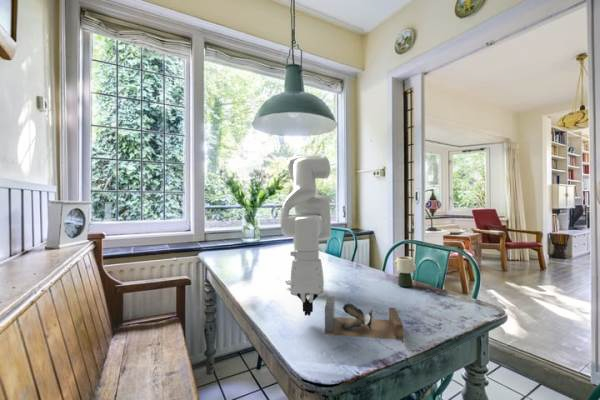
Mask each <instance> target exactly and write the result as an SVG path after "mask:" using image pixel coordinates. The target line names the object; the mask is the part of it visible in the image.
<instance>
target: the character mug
mask: <svg viewBox="0 0 600 400" xmlns="http://www.w3.org/2000/svg"><path fill="white" fill-rule="evenodd" d="M394 267H396V271H397V272H398V273H399V274H398V280H397V284H398V286H400V287H412V286H413V278H412V277H413V276H412V273H413V272H416V270H417V264H416V263H414V258H413V257H411V256H398V257H396V259H395V260H394Z"/></svg>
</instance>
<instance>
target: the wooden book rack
mask: <svg viewBox="0 0 600 400" xmlns="http://www.w3.org/2000/svg"><path fill="white" fill-rule="evenodd" d="M356 319H357V318H355V317H339V316H338V317H337V316H335V322H334V332H333V333H327V332H325V330H324V332H323V335H329V336H331V335H332V336H342V337H344V336H345V337H358V338H374V339H375V338H376V339H389V340H401V343H402V344H404V324H403V322H402V320H401V317H400V315H399V313H398V310H397V308H396V307H389V308H388V319H375V318H374V319H373V318H372V319H371V322H372V324H371V329H369V327H368V325H365V324H361V326H360V327H358V328H357V327H355V328H350V329H343V328H342V327H341V326H342V325H343V324H344V323H347V322H349V321H353V320H356Z"/></svg>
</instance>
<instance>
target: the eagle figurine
mask: <svg viewBox="0 0 600 400" xmlns="http://www.w3.org/2000/svg"><path fill="white" fill-rule="evenodd" d="M342 309H343V311H344V313H346V314H347V315H349V316H351V317H352V318H357V319H356V320H353V321H349V322H347V323H344V324H343V325H342V326H341V327H342V328H343V329H350V328H355V327H357V328H358V327H360V326H361V324H365V325H368V327H369V329H371V324H372V322H371V319H373V318H374V317H373V309H370V312H368V313H367V314H365V313H364V312H363V310H362V309H361V308H357V307H356V306H355V305H353V304H352V303H345V304H344V305H343V307H342Z"/></svg>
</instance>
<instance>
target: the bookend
mask: <svg viewBox="0 0 600 400" xmlns="http://www.w3.org/2000/svg"><path fill="white" fill-rule="evenodd" d="M335 299H336V297H335V296H327V297H326V301H325V307H324V331H325V332H327V333H333V332H334V322H335V317H336V311H335V310H336V304H335V303H336V301H335Z"/></svg>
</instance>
